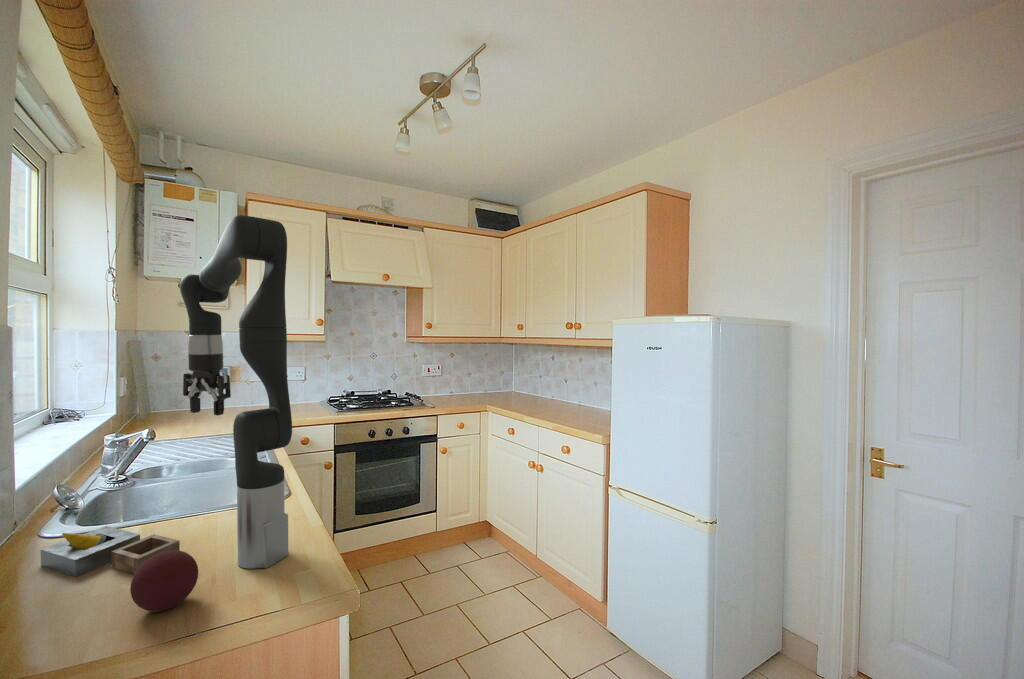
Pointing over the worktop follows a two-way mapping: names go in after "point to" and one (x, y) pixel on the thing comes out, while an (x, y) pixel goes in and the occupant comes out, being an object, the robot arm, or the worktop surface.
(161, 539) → the wooden square frame
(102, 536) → the drill bit
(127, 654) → the worktop surface
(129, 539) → the hub plate
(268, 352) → the robot arm
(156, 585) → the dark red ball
